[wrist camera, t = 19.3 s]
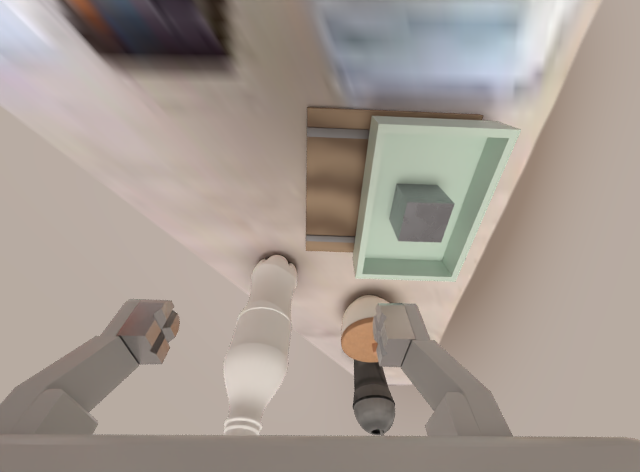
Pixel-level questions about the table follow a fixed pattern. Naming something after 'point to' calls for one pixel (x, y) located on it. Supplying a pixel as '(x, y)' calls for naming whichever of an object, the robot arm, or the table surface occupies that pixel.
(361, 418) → the beverage cup
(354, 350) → the lidded jar
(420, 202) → the metal block
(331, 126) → the track
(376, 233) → the mint green tray
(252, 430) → the water bottle
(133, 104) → the table surface
